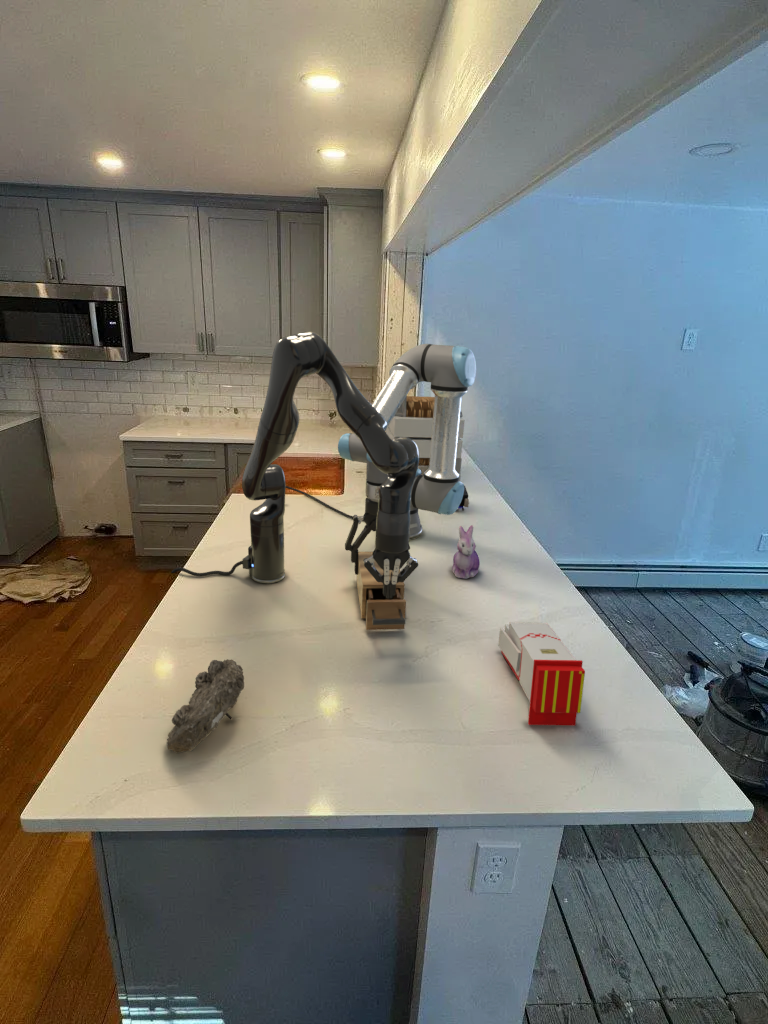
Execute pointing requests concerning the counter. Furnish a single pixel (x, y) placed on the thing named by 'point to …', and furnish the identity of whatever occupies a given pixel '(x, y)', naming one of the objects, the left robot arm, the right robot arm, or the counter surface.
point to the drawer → (384, 610)
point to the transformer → (420, 427)
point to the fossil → (206, 705)
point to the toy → (544, 672)
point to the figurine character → (464, 500)
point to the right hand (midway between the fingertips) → (376, 572)
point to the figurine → (466, 555)
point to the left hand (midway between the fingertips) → (388, 596)
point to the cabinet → (370, 581)
